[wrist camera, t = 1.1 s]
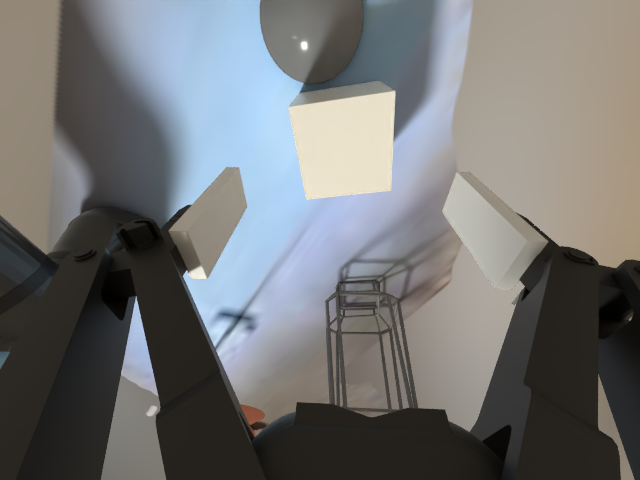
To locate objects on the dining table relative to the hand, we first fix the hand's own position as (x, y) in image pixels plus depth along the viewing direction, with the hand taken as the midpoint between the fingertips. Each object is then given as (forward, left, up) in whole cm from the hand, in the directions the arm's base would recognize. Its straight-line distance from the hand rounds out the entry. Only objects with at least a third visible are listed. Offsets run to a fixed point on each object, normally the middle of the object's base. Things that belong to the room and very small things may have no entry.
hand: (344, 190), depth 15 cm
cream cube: (0, -1, -18) cm, 18 cm away
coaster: (-3, +9, -18) cm, 21 cm away
